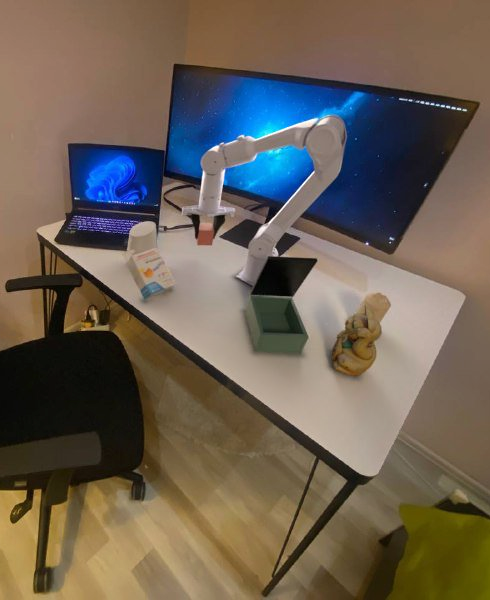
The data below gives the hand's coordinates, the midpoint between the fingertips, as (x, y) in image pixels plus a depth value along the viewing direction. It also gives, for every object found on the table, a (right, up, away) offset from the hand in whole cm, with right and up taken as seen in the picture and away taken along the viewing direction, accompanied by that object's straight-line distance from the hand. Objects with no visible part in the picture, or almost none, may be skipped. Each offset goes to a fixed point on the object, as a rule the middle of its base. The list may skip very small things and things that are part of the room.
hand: (204, 237), depth 103 cm
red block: (0, -1, +1) cm, 1 cm away
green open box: (+14, -27, -18) cm, 35 cm away
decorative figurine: (+28, -33, -25) cm, 50 cm away
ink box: (-13, -17, -10) cm, 24 cm away
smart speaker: (-19, -9, +3) cm, 21 cm away
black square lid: (+14, -14, -23) cm, 30 cm away
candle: (+37, -26, -16) cm, 48 cm away
